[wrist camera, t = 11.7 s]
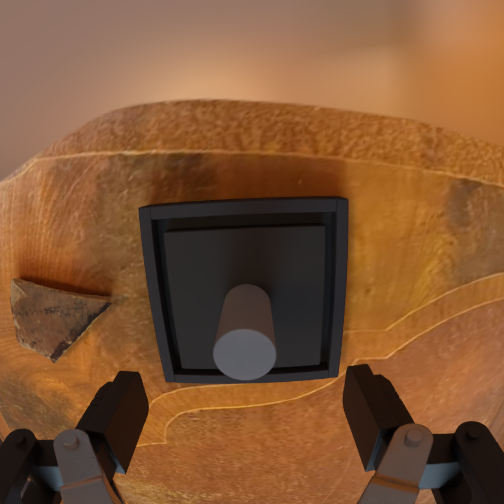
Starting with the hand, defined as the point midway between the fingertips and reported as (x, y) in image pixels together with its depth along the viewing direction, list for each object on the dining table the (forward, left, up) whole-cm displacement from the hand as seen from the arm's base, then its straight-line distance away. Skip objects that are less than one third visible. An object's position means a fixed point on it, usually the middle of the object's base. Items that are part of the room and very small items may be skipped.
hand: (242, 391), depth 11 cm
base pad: (0, 0, -11) cm, 11 cm away
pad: (0, 0, -10) cm, 10 cm away
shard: (+1, -17, -11) cm, 20 cm away
